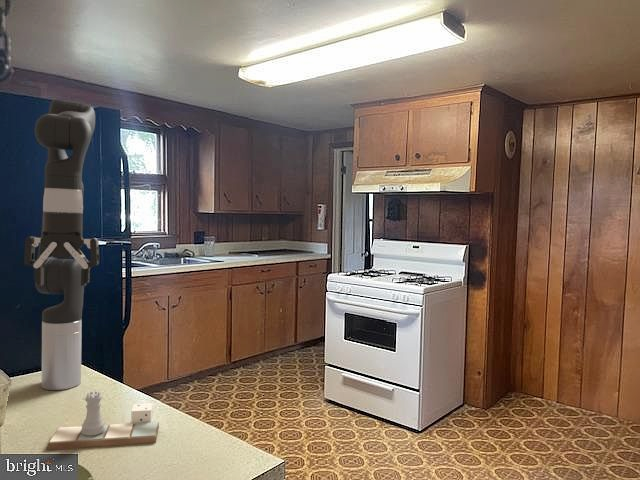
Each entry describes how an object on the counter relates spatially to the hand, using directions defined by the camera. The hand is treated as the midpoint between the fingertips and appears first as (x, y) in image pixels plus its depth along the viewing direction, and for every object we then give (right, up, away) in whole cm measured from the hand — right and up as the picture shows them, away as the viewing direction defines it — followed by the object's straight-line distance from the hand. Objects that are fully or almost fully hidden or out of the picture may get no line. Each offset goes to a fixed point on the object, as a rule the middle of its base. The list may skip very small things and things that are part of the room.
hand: (62, 285), depth 106 cm
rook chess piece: (+9, -30, -6) cm, 32 cm away
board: (+12, -31, -5) cm, 33 cm away
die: (+16, -31, +2) cm, 35 cm away
